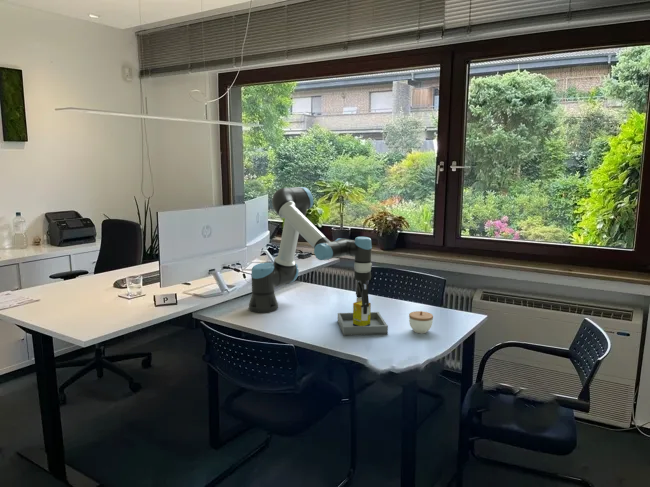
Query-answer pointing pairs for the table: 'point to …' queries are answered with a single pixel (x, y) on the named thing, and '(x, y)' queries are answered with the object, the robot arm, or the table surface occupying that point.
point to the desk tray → (374, 328)
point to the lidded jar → (420, 321)
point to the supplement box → (357, 314)
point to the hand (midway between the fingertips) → (361, 315)
